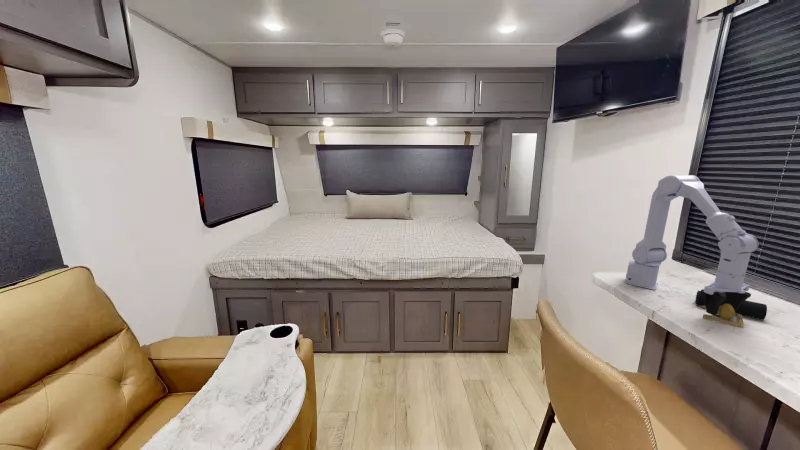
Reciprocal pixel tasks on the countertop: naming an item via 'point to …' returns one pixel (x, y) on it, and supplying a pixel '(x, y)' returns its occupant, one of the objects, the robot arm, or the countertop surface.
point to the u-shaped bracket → (737, 324)
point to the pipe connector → (745, 308)
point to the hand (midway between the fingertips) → (720, 312)
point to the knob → (726, 311)
